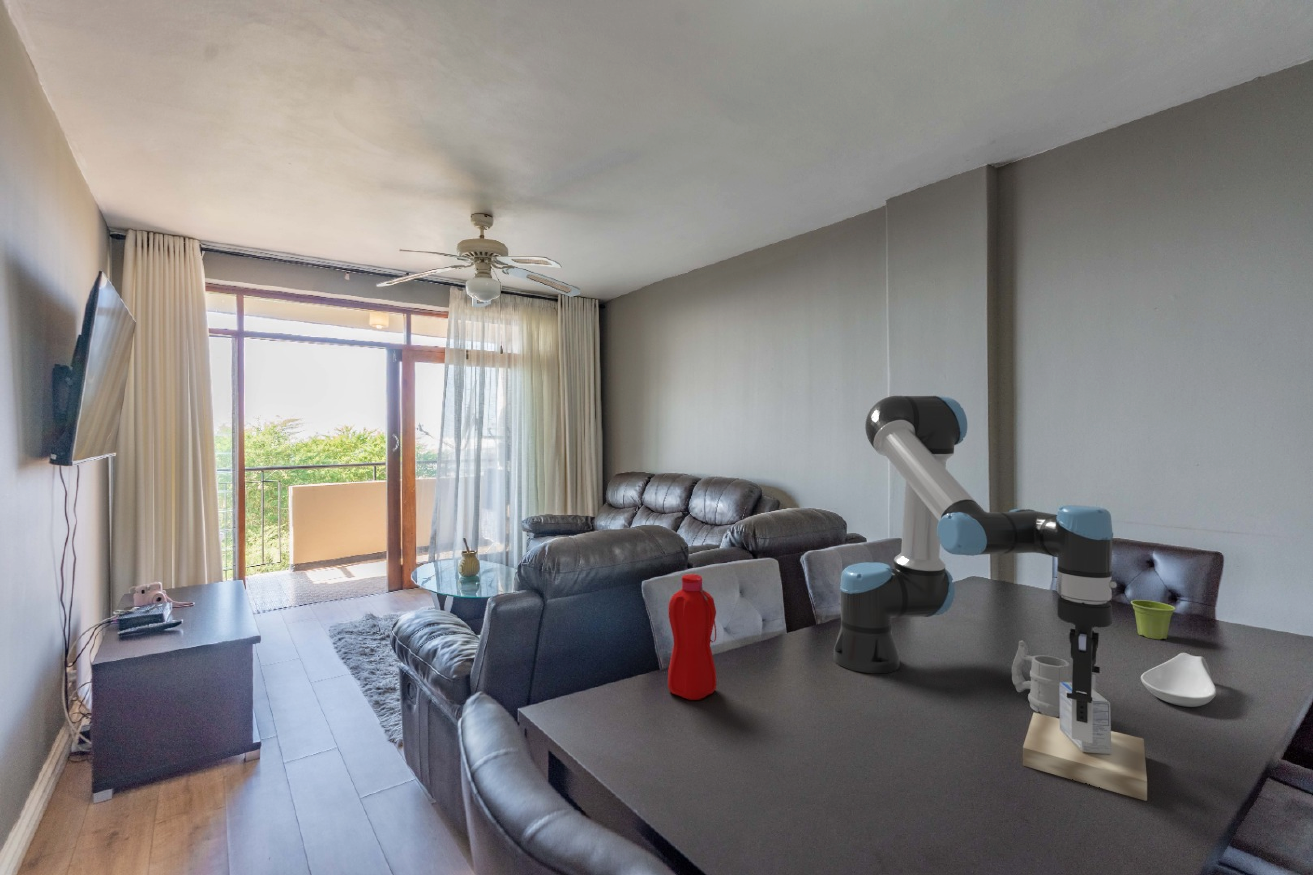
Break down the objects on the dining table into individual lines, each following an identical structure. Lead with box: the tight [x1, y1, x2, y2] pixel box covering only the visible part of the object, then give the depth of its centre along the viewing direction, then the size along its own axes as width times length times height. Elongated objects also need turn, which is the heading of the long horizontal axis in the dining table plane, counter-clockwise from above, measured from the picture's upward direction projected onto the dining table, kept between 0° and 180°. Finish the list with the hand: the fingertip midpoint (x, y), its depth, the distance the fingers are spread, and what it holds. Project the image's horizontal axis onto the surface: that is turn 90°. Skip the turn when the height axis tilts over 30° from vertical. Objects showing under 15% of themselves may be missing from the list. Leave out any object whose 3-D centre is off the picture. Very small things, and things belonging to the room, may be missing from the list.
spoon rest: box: [1140, 652, 1217, 708], centre depth 128 cm, size 24×12×7 cm, turn 129°
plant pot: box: [1130, 599, 1176, 640], centre depth 164 cm, size 9×9×9 cm
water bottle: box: [667, 573, 717, 701], centre depth 128 cm, size 9×11×25 cm
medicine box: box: [1059, 682, 1112, 755], centre depth 101 cm, size 8×4×9 cm, turn 169°
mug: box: [1011, 639, 1072, 718], centre depth 122 cm, size 8×12×12 cm, turn 25°
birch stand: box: [1022, 712, 1148, 802], centre depth 101 cm, size 16×16×3 cm
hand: (1084, 723), depth 101 cm, fingers open, 13 cm apart
